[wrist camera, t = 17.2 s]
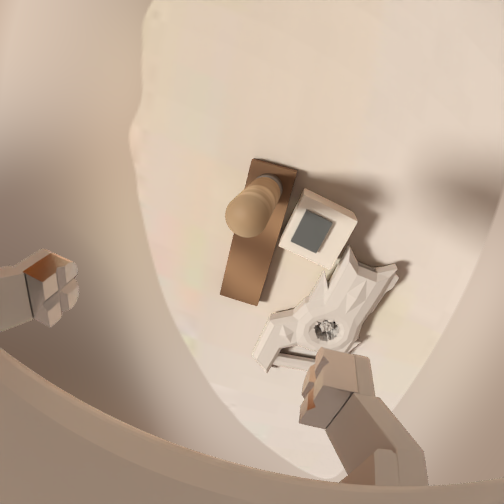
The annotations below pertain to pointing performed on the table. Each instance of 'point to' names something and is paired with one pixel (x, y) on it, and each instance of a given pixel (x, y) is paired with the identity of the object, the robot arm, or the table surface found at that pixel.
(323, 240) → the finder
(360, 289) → the gun
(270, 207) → the tan rounded rod
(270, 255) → the bar
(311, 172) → the table surface
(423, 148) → the table surface
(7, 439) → the robot arm
